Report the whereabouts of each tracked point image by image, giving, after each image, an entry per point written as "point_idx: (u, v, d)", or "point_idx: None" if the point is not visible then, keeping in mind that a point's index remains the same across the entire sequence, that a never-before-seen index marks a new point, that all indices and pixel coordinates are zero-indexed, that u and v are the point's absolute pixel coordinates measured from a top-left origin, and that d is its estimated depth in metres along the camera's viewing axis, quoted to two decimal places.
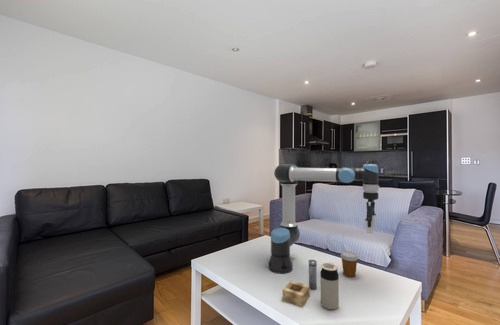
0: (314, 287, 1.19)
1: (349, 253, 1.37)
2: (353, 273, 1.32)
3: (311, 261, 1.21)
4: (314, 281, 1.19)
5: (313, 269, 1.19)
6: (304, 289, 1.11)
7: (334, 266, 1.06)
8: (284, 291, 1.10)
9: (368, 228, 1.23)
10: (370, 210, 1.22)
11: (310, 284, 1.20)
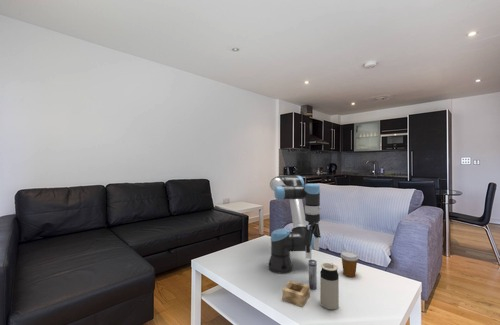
0: (314, 287, 1.19)
1: (349, 253, 1.37)
2: (353, 273, 1.32)
3: (311, 261, 1.21)
4: (314, 281, 1.19)
5: (313, 269, 1.19)
6: (304, 289, 1.11)
7: (334, 266, 1.06)
8: (284, 291, 1.10)
9: (307, 253, 1.15)
10: (308, 234, 1.14)
11: (310, 284, 1.20)
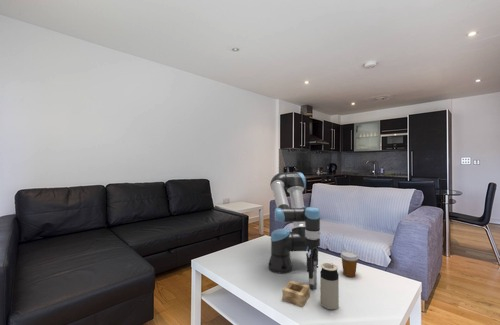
0: (314, 287, 1.19)
1: (349, 253, 1.37)
2: (353, 273, 1.32)
3: None
4: (314, 281, 1.19)
5: (313, 269, 1.19)
6: (304, 289, 1.11)
7: (334, 266, 1.06)
8: (284, 291, 1.10)
9: (310, 279, 1.19)
10: (310, 262, 1.16)
11: (310, 284, 1.20)
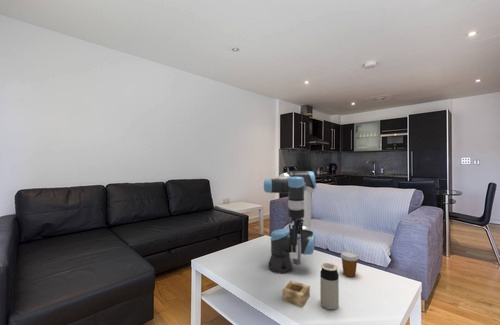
0: (298, 262, 1.10)
1: (349, 253, 1.37)
2: (353, 273, 1.32)
3: None
4: (298, 255, 1.10)
5: (297, 242, 1.10)
6: (304, 289, 1.11)
7: (334, 266, 1.06)
8: (284, 291, 1.10)
9: (293, 253, 1.10)
10: (292, 234, 1.07)
11: (294, 259, 1.11)
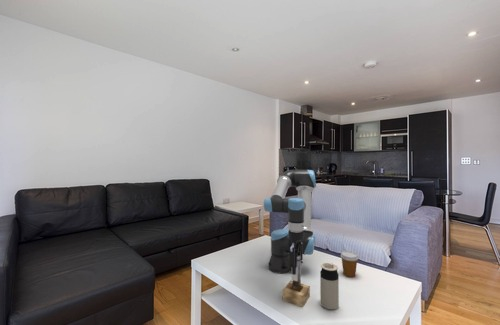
0: (298, 284, 1.10)
1: (349, 253, 1.37)
2: (353, 273, 1.32)
3: None
4: (298, 277, 1.10)
5: (297, 264, 1.10)
6: (304, 289, 1.11)
7: (334, 266, 1.06)
8: (284, 291, 1.10)
9: (293, 275, 1.10)
10: (292, 257, 1.07)
11: None
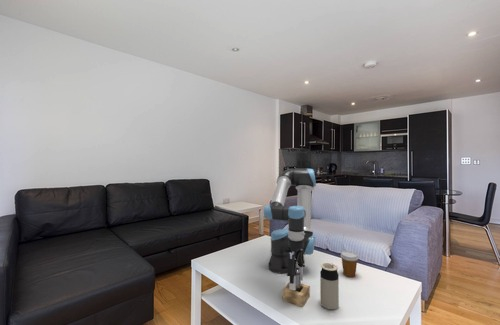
0: None
1: (349, 253, 1.37)
2: (353, 273, 1.32)
3: None
4: (298, 291, 1.10)
5: (297, 278, 1.10)
6: (304, 289, 1.11)
7: (334, 266, 1.06)
8: (284, 291, 1.10)
9: (291, 284, 1.08)
10: (291, 264, 1.06)
11: None
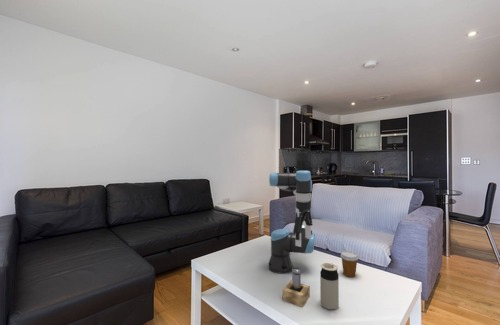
0: None
1: (349, 253, 1.37)
2: (353, 273, 1.32)
3: (295, 269, 1.12)
4: (298, 291, 1.10)
5: (297, 278, 1.10)
6: (304, 289, 1.11)
7: (334, 266, 1.06)
8: (284, 291, 1.10)
9: (297, 241, 1.13)
10: (298, 222, 1.12)
11: None
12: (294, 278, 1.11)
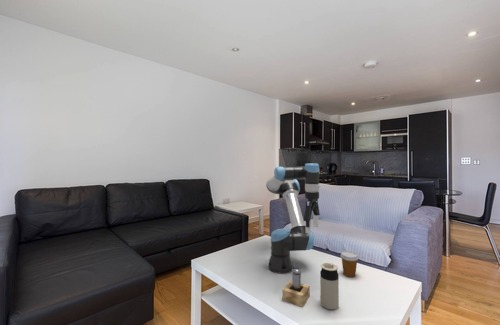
0: None
1: (349, 253, 1.37)
2: (353, 273, 1.32)
3: (295, 269, 1.12)
4: (298, 291, 1.10)
5: (297, 278, 1.10)
6: (304, 289, 1.11)
7: (334, 266, 1.06)
8: (284, 291, 1.10)
9: (307, 228, 1.21)
10: (308, 210, 1.20)
11: None
12: (294, 278, 1.11)
